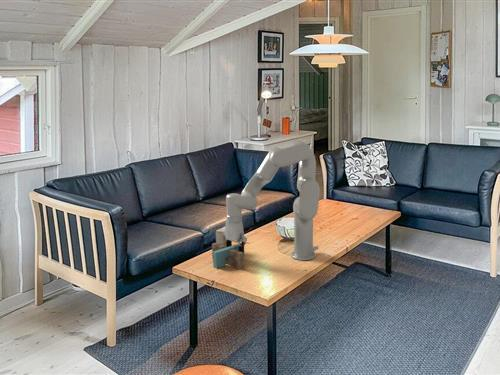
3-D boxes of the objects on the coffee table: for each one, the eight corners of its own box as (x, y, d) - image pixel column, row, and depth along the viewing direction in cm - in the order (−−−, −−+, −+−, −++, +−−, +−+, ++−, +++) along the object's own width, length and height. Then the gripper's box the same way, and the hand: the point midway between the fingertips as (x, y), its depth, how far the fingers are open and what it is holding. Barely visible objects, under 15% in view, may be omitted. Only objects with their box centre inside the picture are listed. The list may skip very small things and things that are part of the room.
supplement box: (223, 255, 264) (223, 231, 261) (216, 254, 266) (215, 230, 263) (232, 250, 271) (231, 227, 268) (225, 249, 273) (224, 226, 270)
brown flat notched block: (212, 258, 260) (211, 243, 258) (216, 257, 261) (215, 242, 260) (240, 269, 244) (239, 254, 242) (244, 268, 245) (243, 252, 244)
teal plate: (216, 268, 246) (215, 252, 245) (213, 267, 248) (212, 251, 246) (244, 259, 258) (243, 244, 256) (241, 257, 260) (240, 243, 258)
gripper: (217, 216, 255) (218, 248, 259) (239, 223, 242) (240, 257, 246) (229, 213, 260) (230, 245, 263) (251, 220, 247) (252, 253, 251)
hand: (235, 250), depth 255 cm, fingers open, 9 cm apart
